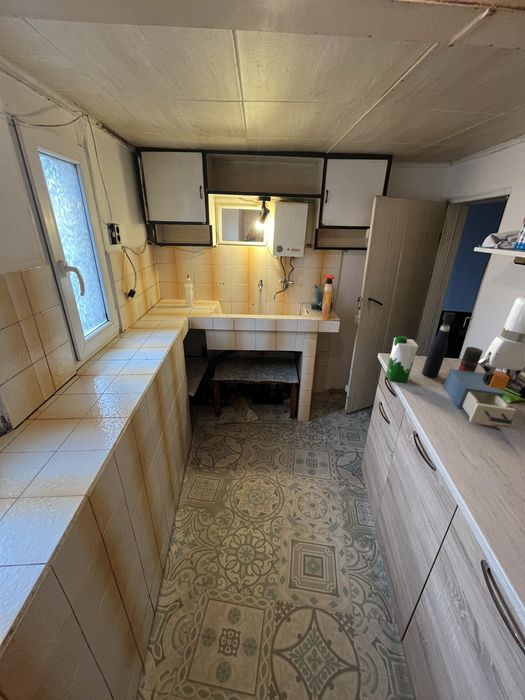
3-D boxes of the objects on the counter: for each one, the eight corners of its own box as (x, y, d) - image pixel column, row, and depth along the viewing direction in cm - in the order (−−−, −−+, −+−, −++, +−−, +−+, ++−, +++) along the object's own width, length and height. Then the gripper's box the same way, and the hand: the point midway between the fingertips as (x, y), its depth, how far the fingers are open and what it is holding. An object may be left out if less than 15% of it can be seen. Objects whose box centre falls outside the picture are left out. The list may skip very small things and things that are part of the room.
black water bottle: (420, 375, 130) (440, 313, 117) (422, 370, 135) (442, 309, 122) (436, 380, 127) (458, 316, 114) (437, 374, 131) (459, 312, 119)
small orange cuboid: (497, 382, 99) (502, 371, 97) (504, 389, 95) (510, 377, 93) (483, 380, 100) (488, 369, 98) (489, 387, 96) (494, 375, 94)
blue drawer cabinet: (494, 414, 105) (504, 393, 101) (457, 408, 107) (465, 388, 103) (476, 391, 119) (483, 373, 115) (443, 387, 121) (450, 368, 117)
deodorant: (453, 375, 131) (463, 346, 125) (467, 377, 130) (478, 347, 124) (458, 381, 126) (470, 351, 120) (473, 383, 125) (485, 353, 118)
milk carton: (383, 372, 131) (393, 332, 123) (404, 374, 130) (415, 334, 121) (388, 382, 123) (399, 340, 115) (409, 384, 122) (422, 342, 114)
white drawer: (514, 437, 92) (524, 419, 89) (476, 430, 94) (484, 413, 91) (486, 403, 109) (494, 387, 106) (454, 398, 111) (460, 383, 108)
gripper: (539, 334, 91) (515, 382, 99) (481, 328, 94) (462, 375, 102) (555, 343, 85) (528, 394, 92) (492, 336, 88) (471, 386, 95)
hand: (494, 384), depth 97 cm, fingers closed on small orange cuboid, 4 cm apart
